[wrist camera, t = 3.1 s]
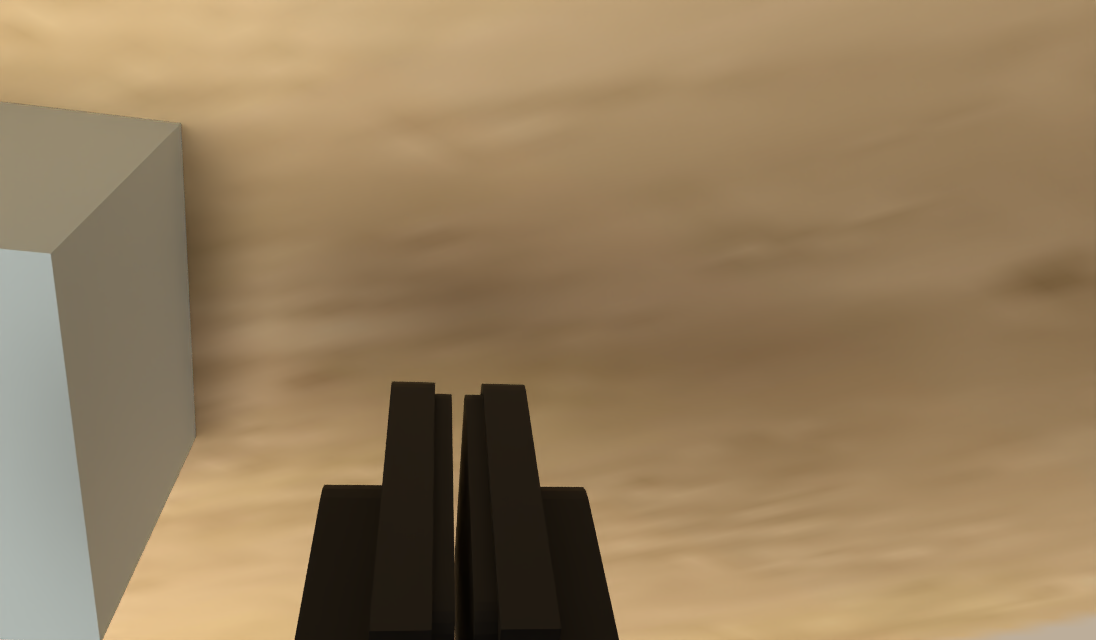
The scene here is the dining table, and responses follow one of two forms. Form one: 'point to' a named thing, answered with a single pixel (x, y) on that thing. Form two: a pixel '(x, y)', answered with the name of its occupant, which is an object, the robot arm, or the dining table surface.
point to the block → (87, 359)
